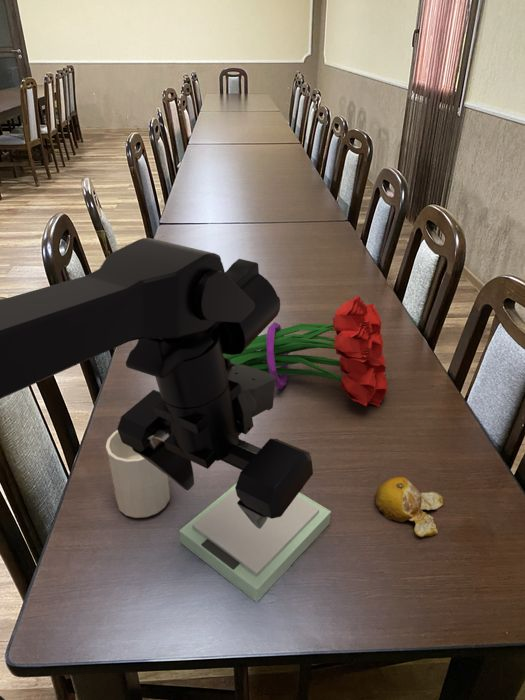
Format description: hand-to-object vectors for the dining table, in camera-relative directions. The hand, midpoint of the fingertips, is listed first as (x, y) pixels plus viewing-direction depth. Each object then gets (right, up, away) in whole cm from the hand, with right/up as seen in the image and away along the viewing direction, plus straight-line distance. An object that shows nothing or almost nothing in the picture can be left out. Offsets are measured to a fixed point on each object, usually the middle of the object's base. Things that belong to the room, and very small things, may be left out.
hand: (224, 505), depth 54 cm
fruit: (+23, -5, +15) cm, 27 cm away
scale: (+3, -7, +12) cm, 14 cm away
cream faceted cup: (-12, -4, +16) cm, 20 cm away
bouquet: (+9, +9, +38) cm, 40 cm away
